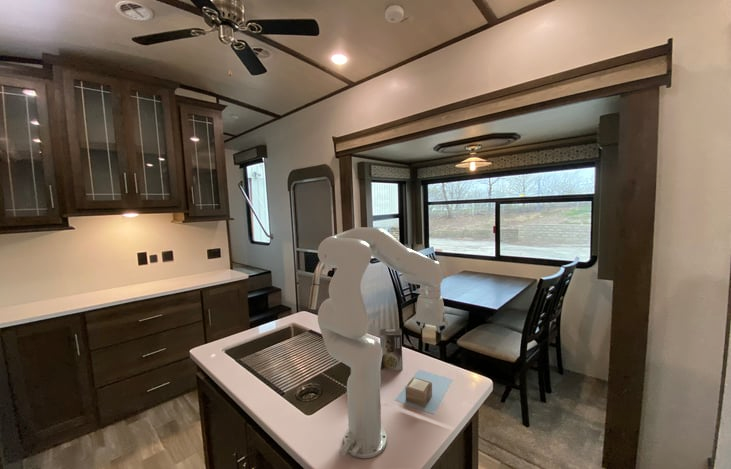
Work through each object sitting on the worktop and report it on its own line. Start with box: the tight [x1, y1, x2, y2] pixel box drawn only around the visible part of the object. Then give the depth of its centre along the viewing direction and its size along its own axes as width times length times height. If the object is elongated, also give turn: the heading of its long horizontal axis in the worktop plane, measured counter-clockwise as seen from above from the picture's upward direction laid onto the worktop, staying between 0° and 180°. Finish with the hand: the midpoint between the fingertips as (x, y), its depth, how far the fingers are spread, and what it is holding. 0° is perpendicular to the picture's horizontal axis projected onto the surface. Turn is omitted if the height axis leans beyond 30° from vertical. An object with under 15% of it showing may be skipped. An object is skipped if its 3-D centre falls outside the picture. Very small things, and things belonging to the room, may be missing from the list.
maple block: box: [421, 324, 438, 346], centre depth 109 cm, size 5×5×5 cm
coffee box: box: [379, 328, 404, 372], centre depth 120 cm, size 9×6×16 cm
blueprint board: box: [394, 369, 453, 415], centre depth 104 cm, size 22×14×6 cm, turn 147°
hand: (431, 339), depth 109 cm, fingers closed on maple block, 5 cm apart
